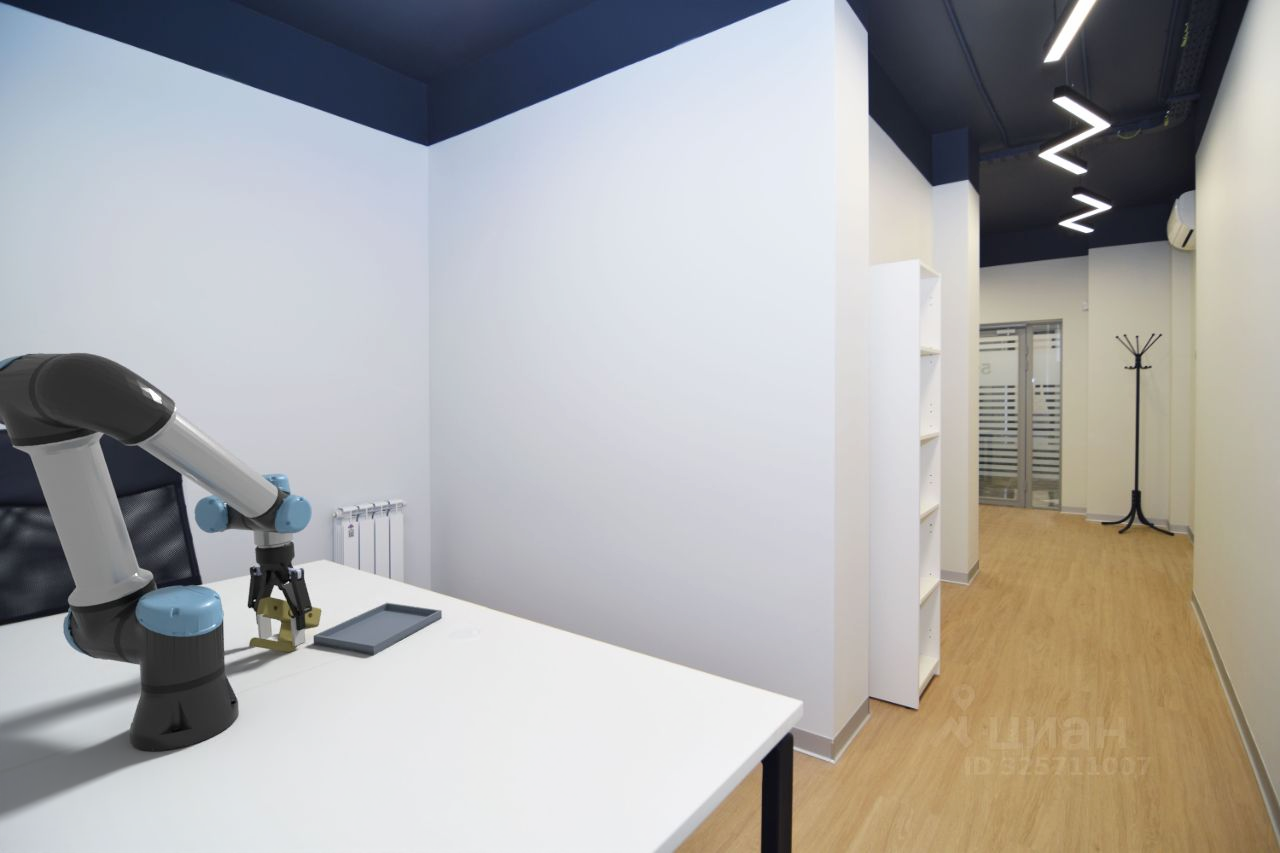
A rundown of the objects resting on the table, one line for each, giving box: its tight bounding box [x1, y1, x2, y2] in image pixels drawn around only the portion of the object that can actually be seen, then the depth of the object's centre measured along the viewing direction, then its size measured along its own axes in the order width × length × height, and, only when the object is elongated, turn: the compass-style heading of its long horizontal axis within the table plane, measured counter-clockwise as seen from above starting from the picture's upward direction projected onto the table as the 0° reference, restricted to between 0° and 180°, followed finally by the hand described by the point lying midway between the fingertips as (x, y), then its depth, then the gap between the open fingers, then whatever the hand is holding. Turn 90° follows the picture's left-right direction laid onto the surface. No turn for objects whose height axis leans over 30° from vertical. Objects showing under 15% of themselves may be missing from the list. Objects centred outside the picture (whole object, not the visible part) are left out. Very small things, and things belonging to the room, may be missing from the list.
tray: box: [313, 602, 443, 656], centre depth 151 cm, size 23×17×2 cm
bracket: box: [248, 596, 322, 653], centre depth 141 cm, size 10×14×10 cm
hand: (282, 640), depth 142 cm, fingers open, 9 cm apart
